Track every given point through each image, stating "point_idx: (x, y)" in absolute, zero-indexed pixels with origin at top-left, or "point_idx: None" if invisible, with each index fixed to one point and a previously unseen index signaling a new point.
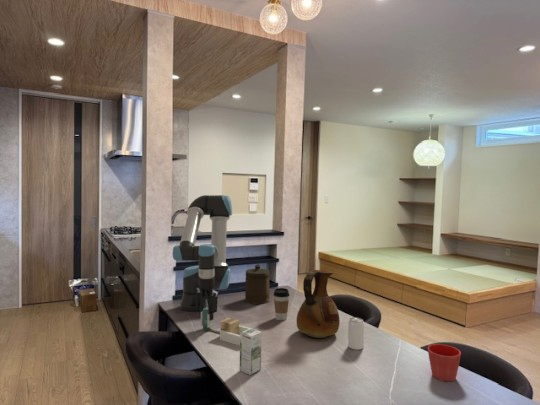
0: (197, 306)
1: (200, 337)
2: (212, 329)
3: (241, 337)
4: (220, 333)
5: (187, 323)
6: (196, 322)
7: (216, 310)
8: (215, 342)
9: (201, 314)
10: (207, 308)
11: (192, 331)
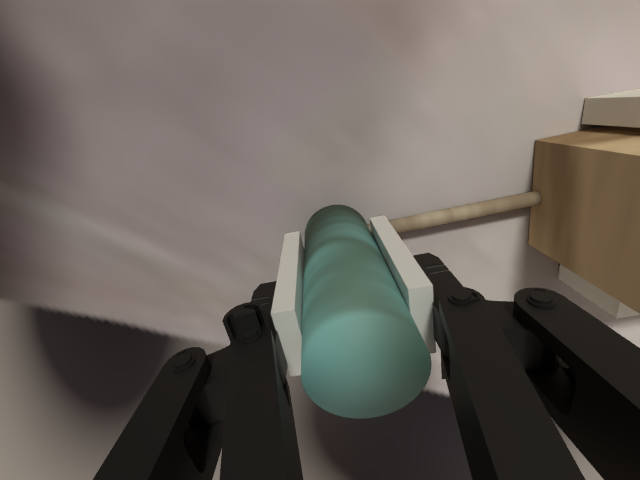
0: (205, 451)
1: None
2: (405, 228)
3: None
4: (604, 304)
5: (102, 264)
6: (121, 197)
7: (571, 315)
8: None
9: None
10: (358, 354)
11: None
